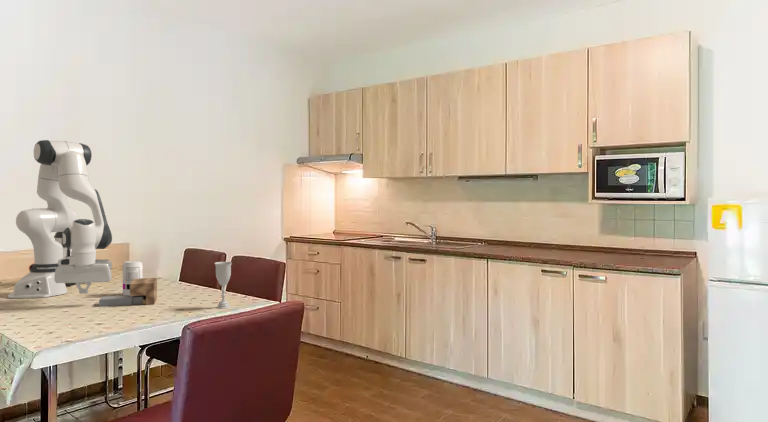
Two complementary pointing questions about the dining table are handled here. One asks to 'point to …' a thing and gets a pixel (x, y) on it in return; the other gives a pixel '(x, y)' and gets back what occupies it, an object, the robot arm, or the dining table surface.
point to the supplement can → (131, 274)
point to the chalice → (223, 280)
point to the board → (120, 300)
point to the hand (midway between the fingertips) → (83, 293)
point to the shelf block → (145, 289)
